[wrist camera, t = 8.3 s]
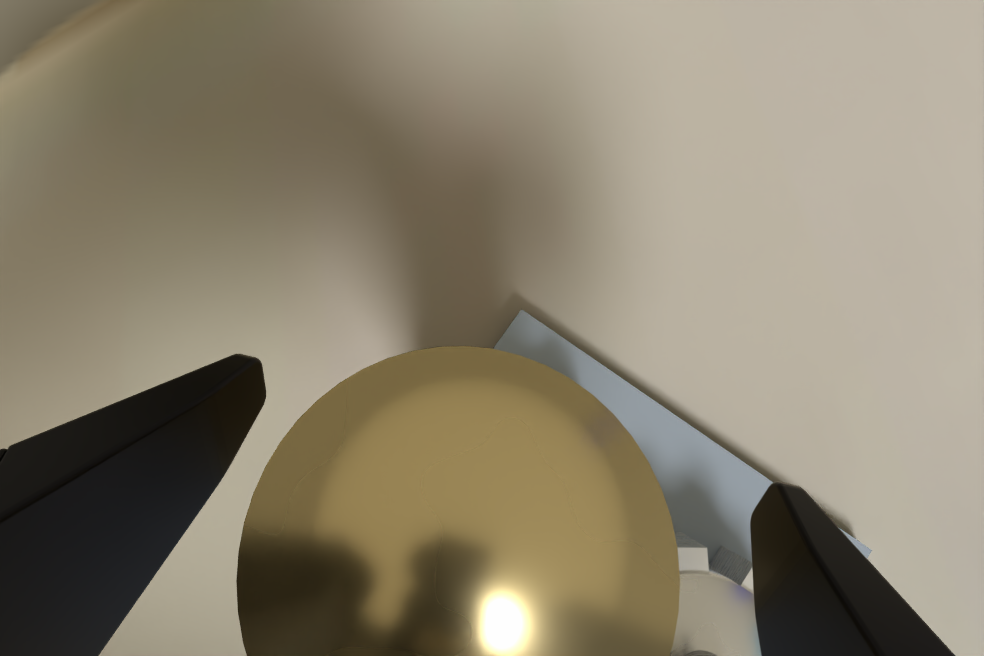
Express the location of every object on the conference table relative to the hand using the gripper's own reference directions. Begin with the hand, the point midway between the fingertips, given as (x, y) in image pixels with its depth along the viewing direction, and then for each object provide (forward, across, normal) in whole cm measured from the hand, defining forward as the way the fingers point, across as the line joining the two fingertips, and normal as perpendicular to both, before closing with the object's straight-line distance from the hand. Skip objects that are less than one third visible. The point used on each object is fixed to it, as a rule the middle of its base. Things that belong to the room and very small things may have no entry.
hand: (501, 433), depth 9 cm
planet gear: (+5, 0, +6) cm, 8 cm away
